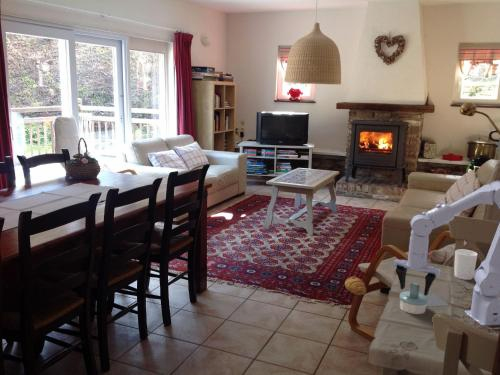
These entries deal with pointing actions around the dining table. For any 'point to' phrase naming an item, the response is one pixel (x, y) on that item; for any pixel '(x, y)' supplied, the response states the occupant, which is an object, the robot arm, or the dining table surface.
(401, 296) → the lid
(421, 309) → the bowl
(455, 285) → the dining table surface
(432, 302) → the mat
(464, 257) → the white cup
